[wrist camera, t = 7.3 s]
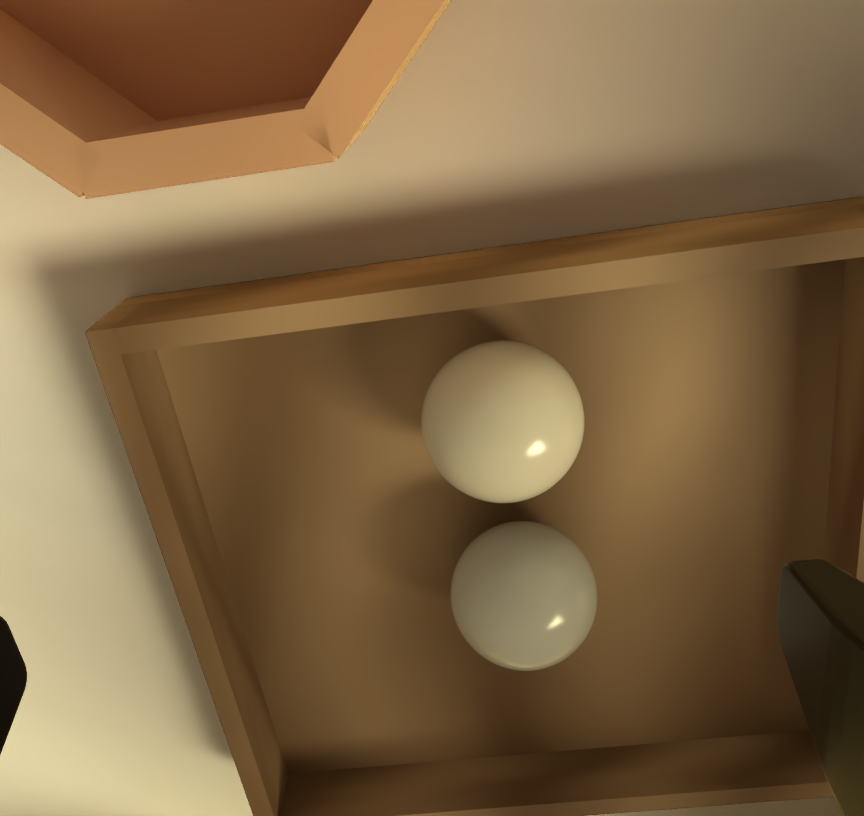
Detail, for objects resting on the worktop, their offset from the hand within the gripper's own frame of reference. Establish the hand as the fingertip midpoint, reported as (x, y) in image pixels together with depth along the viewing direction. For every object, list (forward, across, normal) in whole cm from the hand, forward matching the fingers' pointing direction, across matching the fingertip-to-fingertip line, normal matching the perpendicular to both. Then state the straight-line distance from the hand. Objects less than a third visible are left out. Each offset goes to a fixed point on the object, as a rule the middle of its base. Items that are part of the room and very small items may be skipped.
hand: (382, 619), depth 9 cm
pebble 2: (+9, -2, +7) cm, 11 cm away
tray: (+11, -2, +7) cm, 13 cm away
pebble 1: (+9, -2, +2) cm, 9 cm away
